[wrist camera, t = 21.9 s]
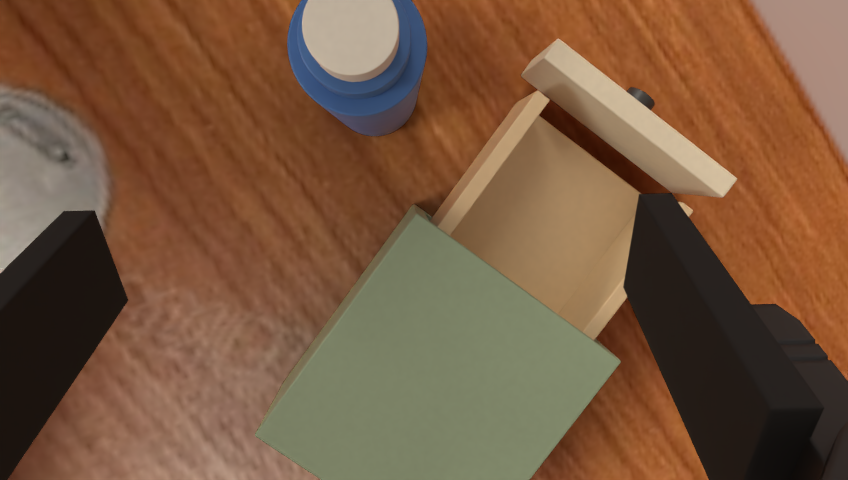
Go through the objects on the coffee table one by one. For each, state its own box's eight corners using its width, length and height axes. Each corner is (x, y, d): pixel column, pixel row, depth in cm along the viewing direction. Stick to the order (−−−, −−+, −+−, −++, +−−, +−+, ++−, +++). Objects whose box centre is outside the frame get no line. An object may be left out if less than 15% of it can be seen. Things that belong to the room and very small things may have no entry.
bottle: (331, 47, 35) (268, -63, 18) (417, 50, 36) (433, -57, 19) (331, 135, 36) (269, 106, 19) (416, 137, 36) (429, 110, 19)
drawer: (545, 41, 35) (573, 16, 29) (697, 160, 36) (753, 159, 30) (404, 234, 36) (404, 247, 30) (556, 344, 37) (585, 377, 31)
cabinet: (413, 203, 37) (416, 212, 29) (578, 323, 38) (622, 361, 30) (283, 382, 38) (253, 436, 30) (447, 493, 39) (459, 571, 31)
